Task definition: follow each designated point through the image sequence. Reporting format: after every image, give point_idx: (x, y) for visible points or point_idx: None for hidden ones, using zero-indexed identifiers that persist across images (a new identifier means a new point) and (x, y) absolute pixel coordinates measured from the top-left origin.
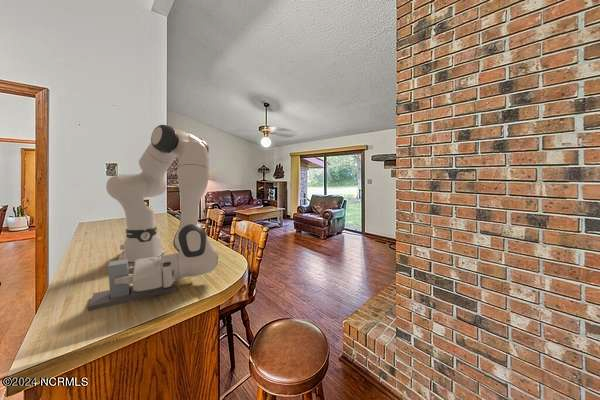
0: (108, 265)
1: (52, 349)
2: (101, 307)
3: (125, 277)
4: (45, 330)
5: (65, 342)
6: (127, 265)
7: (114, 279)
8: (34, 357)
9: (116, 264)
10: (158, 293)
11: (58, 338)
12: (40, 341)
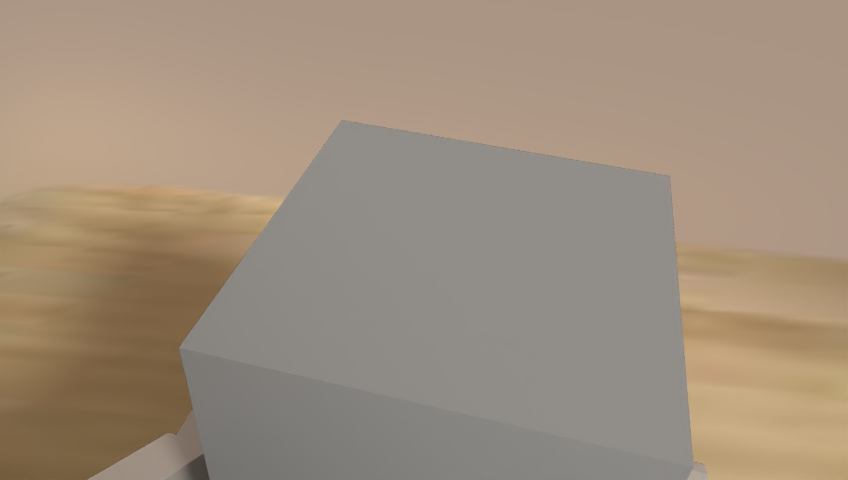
0: (381, 128)
1: (40, 235)
2: None
3: (91, 477)
4: None
5: (44, 273)
6: (347, 466)
7: None
8: (53, 195)
9: (315, 200)
10: None
11: (141, 257)
12: (202, 213)
